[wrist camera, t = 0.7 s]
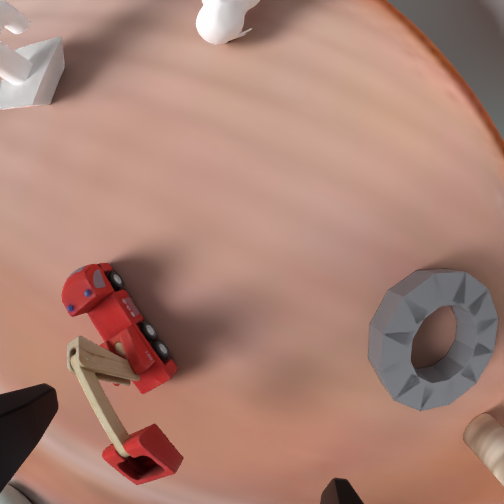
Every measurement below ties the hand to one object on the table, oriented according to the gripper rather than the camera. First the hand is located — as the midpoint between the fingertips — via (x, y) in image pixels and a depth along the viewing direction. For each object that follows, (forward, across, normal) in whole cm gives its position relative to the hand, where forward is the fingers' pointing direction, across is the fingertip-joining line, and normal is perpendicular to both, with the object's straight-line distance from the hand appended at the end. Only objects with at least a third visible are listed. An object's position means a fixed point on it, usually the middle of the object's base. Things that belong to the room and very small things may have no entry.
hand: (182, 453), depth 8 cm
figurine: (+17, +25, -13) cm, 33 cm away
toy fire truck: (+14, +7, +6) cm, 17 cm away
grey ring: (+15, -14, 0) cm, 20 cm away
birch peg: (+13, -25, +8) cm, 29 cm away
